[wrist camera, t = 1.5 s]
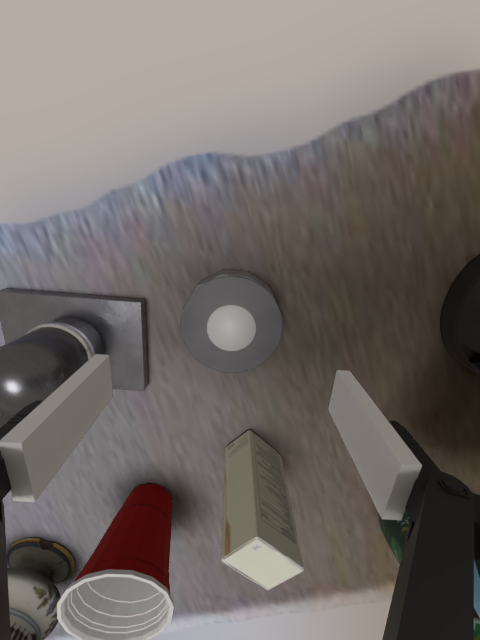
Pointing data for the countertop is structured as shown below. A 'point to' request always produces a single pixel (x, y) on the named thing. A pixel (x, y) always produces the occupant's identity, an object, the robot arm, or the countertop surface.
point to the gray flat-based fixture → (67, 342)
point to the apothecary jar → (35, 586)
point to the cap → (231, 322)
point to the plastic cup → (125, 575)
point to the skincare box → (258, 514)
